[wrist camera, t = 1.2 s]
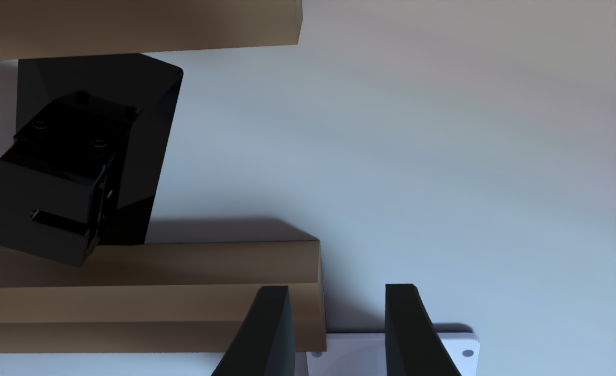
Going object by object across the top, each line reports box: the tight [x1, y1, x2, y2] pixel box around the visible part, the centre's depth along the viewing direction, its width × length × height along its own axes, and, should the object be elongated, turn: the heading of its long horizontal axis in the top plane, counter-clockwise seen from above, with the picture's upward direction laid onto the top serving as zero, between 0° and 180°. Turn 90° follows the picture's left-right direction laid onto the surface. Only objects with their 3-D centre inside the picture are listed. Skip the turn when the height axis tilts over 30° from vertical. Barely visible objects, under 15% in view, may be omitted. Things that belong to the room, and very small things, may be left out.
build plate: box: [0, 53, 183, 268], centre depth 19 cm, size 12×7×5 cm, turn 161°
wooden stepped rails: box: [0, 0, 327, 353], centre depth 19 cm, size 21×16×2 cm
